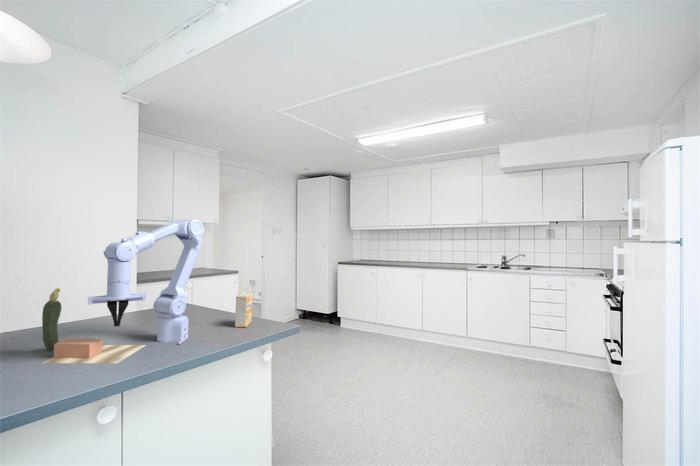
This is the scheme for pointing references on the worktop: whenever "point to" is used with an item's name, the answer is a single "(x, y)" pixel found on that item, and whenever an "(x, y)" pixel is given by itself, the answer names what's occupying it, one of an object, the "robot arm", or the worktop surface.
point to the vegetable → (51, 320)
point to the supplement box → (243, 309)
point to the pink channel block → (78, 348)
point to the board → (103, 355)
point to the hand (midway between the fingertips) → (117, 325)
